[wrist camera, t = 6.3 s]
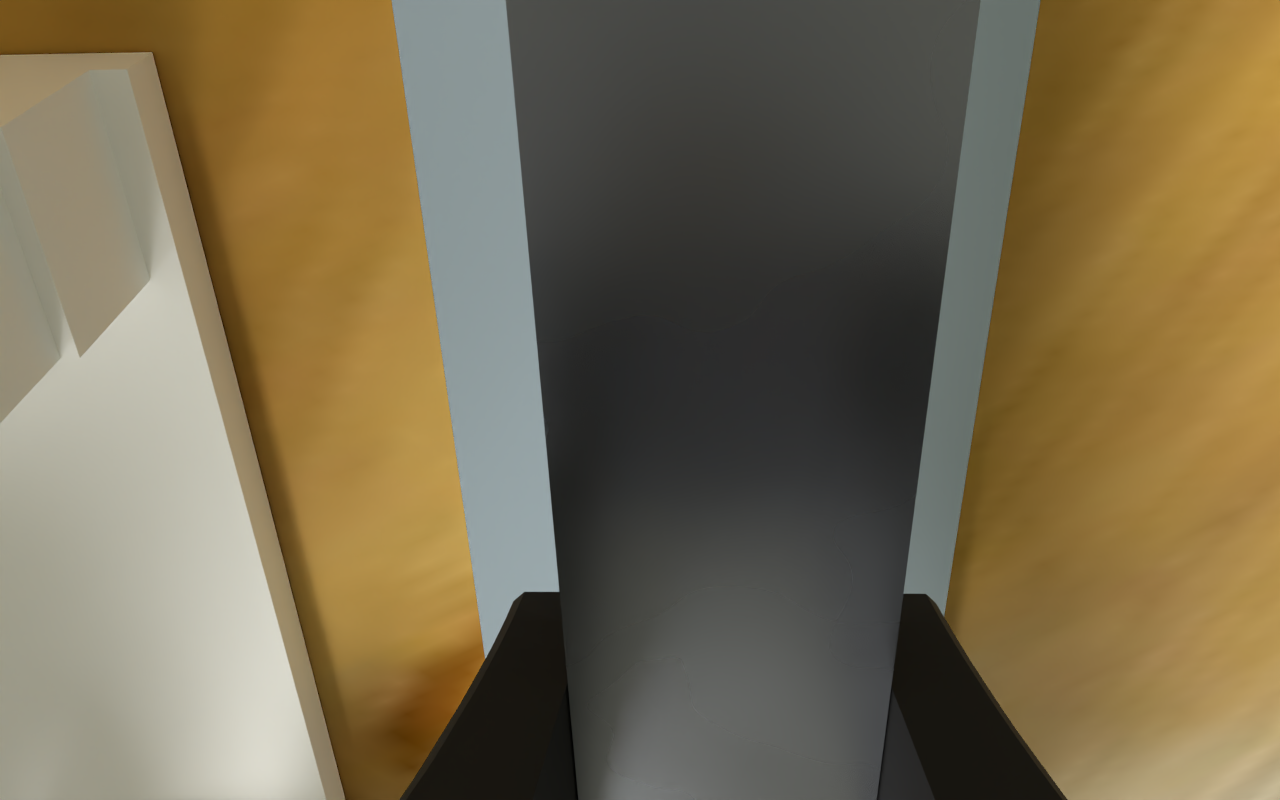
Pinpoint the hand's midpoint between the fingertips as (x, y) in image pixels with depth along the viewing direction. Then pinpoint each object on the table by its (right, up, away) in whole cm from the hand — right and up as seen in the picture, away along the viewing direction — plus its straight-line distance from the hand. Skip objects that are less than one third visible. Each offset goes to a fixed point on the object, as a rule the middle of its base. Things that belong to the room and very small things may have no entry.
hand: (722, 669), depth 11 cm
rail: (0, 0, +1) cm, 1 cm away
